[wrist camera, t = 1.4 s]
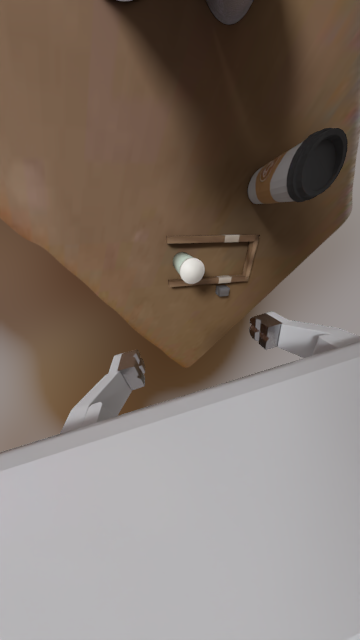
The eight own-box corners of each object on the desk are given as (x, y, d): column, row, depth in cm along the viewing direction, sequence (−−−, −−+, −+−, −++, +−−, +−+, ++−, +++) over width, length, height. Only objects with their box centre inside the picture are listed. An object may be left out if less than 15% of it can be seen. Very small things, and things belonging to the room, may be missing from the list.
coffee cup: (260, 151, 31) (338, 101, 19) (281, 180, 34) (358, 153, 22) (236, 194, 34) (288, 176, 22) (257, 216, 38) (313, 211, 25)
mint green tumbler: (171, 251, 38) (180, 259, 29) (191, 250, 39) (205, 257, 30) (172, 272, 41) (180, 284, 32) (190, 271, 42) (203, 283, 33)
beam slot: (166, 235, 36) (167, 236, 33) (255, 234, 40) (262, 234, 37) (169, 297, 45) (170, 301, 42) (241, 290, 49) (246, 293, 46)
